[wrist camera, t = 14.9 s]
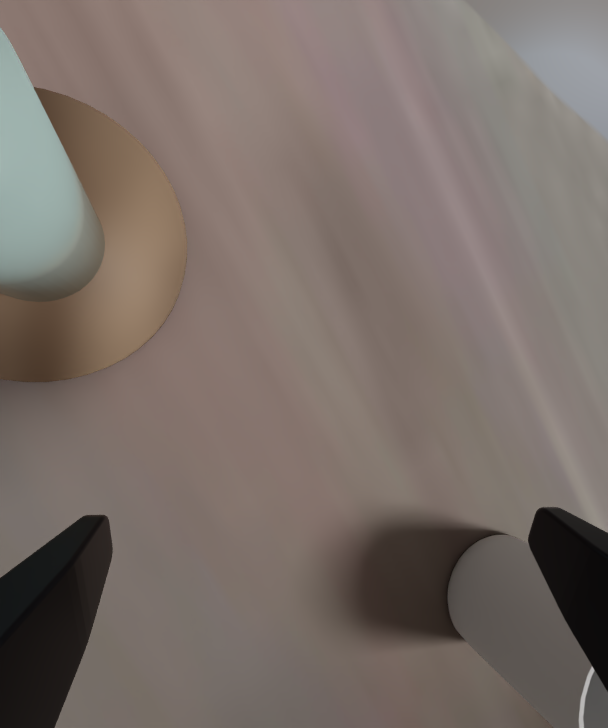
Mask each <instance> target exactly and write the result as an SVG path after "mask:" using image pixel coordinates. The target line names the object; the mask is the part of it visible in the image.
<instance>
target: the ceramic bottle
mask: <svg viewBox="0 0 608 728" xmlns="http://www.w3.org/2000/svg"><path fill="white" fill-rule="evenodd" d="M104 251H105V238H104V232H103V228H102V225H101V222H100V220H99V218H98V216H97V214H96V212H95V210H94V208H93V206H92V204H91V202H90V200H89V198H88V196H87V194H86V192H85V190H84V188H83V186H82V184H81V182H80V180H79V178H78V176H77V174H76V172H75V170H74V168H73V166H72V164H71V162H70V160H69V158H68V156H67V154H66V152H65V150H64V148H63V146H62V144H61V142H60V140H59V138H58V136H57V134H56V132H55V130H54V128H53V126H52V124H51V122H50V120H49V118H48V116H47V114H46V112H45V110H44V108H43V106H42V104H41V102H40V100H39V98H38V96H37V94H36V92H35V90H34V88H33V86H32V84H31V82H30V80H29V78H28V76H27V74H26V72H25V70H24V68H23V66H22V64H21V62H20V60H19V58H18V56H17V54H16V52H15V50H14V48H13V47H12V45H11V43H10V41H9V39H8V38H7V36H6V35H5V33H4V32H3V31H2V29H1V28H0V293H1V294H4V295H7V296H10V297H13V298H16V299H20V300H25V301H32V302H48V301H54V300H59V299H62V298H65V297H68V296H70V295H73V294H74V293H76V292H78V291H79V290H81V289H82V288H83V287H85V286H86V285H87V284H88V283H89V282H90V281H91V280H92V279H93V278H94V276H95V275H96V273H97V272H98V270H99V268H100V266H101V263H102V260H103V257H104Z"/></svg>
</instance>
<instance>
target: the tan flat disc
mask: <svg viewBox="0 0 608 728" xmlns="http://www.w3.org/2000/svg"><path fill="white" fill-rule="evenodd" d="M33 88H34V90H35V92H36V94H37V96H38V98H39V100H40V102H41V104H42V106H43V108H44V110H45V112H46V114H47V116H48V118H49V120H50V122H51V124H52V126H53V128H54V130H55V132H56V134H57V136H58V138H59V140H60V142H61V144H62V146H63V148H64V150H65V152H66V154H67V156H68V158H69V160H70V162H71V164H72V166H73V168H74V170H75V172H76V174H77V176H78V178H79V180H80V182H81V184H82V186H83V188H84V190H85V192H86V194H87V196H88V198H89V200H90V202H91V204H92V206H93V208H94V210H95V212H96V214H97V216H98V218H99V220H100V222H101V225H102V228H103V232H104V238H105V251H104V257H103V260H102V263H101V266H100V268H99V270H98V272H97V273H96V275H95V276H94V278H93V279H92V280H91V281H90V282H89V283H88V284H87V285H86V286H85V287H83V288H82V289H81V290H79V291H78V292H76V293H74V294H73V295H70V296H68V297H65V298H62V299H59V300H54V301H48V302H32V301H25V300H20V299H16V298H13V297H10V296H7V295H4V294H1V293H0V379H3V380H12V381H22V382H49V381H58V380H66V379H71V378H75V377H79V376H84V375H88V374H90V373H93V372H96V371H98V370H101V369H104V368H107V367H109V366H111V365H113V364H115V363H117V362H119V361H121V360H123V359H125V358H126V357H128V356H129V355H131V354H132V353H134V352H135V351H136V350H138V349H139V348H141V347H142V346H143V345H144V344H145V343H146V342H147V341H148V340H149V339H150V338H152V337H153V336H154V334H155V333H156V332H157V331H158V330H159V328H160V327H161V326H162V325H163V324H164V322H165V320H166V319H167V317H168V316H169V314H170V312H171V311H172V309H173V307H174V304H175V302H176V300H177V298H178V295H179V292H180V289H181V285H182V282H183V278H184V274H185V267H186V260H187V238H186V230H185V223H184V219H183V216H182V212H181V208H180V205H179V202H178V200H177V197H176V195H175V192H174V190H173V188H172V186H171V184H170V182H169V181H168V179H167V177H166V175H165V173H164V172H163V170H162V169H161V167H160V166H159V165H158V163H157V162H156V160H155V159H154V158H153V156H152V155H151V154H150V153H149V152H148V151H147V150H146V148H145V147H144V146H143V145H142V144H141V143H140V142H139V141H138V140H137V139H136V138H135V137H134V136H133V135H131V134H130V133H129V132H128V131H127V130H126V129H125V128H123V127H122V126H121V125H119V124H118V123H116V122H115V121H114V120H112V119H111V118H109V117H108V116H107V115H105V114H103V113H101V112H100V111H98V110H96V109H94V108H92V107H91V106H89V105H87V104H85V103H82V102H80V101H78V100H75V99H73V98H71V97H68V96H65V95H62V94H59V93H56V92H52V91H49V90H46V89H40V88H35V87H33Z"/></svg>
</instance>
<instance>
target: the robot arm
mask: <svg viewBox="0 0 608 728" xmlns="http://www.w3.org/2000/svg"><path fill="white" fill-rule="evenodd" d="M528 542H529V547H530V550H531V552H532V554H533V556H534V558H535V560H536V562H537V564H538V566H539V568H540V570H541V573H542V575H543V577H544V579H545V581H546V583H547V585H548V587H549V589H550V591H551V593H552V595H553V597H554V599H555V601H556V603H557V606H558V608H559V609H560V611H561V613H562V615H563V617H564V619H565V621H566V623H567V624H568V626H569V628H570V630H571V632H572V633H573V635H574V637H575V638H576V640H577V642H578V643H579V645H580V647H581V648H582V650H583V652H584V653H585V655H586V657H587V658H588V660H589V662H590V663H591V665H592V667H593V669H594V670H595V672H596V674H597V675H598V677H599V679H600V680H601V682H602V684H603V685H604V687H605V689H606V690H607V692H608V533H607V532H605V531H603V530H601V529H599V528H597V527H595V526H593V525H592V524H590V523H588V522H586V521H584V520H582V519H580V518H578V517H576V516H574V515H572V514H571V513H569V512H567V511H565V510H563V509H561V508H558V507H542V508H539V509H538V510H537V511H536V514H535V517H534V520H533V523H532V527H531V530H530V533H529V537H528ZM112 550H113V548H112V540H111V532H110V525H109V519H108V517H107V516H105V515H86V516H83V517H82V518H80V519H79V520H77V521H76V522H75V523H73V524H72V525H71V526H69V527H68V528H67V529H65V530H64V531H63V532H61V533H60V534H59V535H57V536H56V537H55V538H53V539H52V540H51V541H49V542H48V543H47V544H45V545H44V546H43V547H41V548H40V549H38V550H37V551H36V552H34V553H33V554H32V555H30V556H29V557H28V558H26V559H25V560H24V561H22V562H21V563H20V564H18V565H17V566H16V567H14V568H13V569H12V570H10V571H9V572H8V573H6V574H5V575H4V576H2V577H1V578H0V728H54V727H55V725H56V722H57V720H58V717H59V715H60V712H61V710H62V707H63V705H64V702H65V700H66V697H67V695H68V692H69V690H70V687H71V684H72V682H73V679H74V677H75V674H76V672H77V669H78V667H79V664H80V662H81V659H82V657H83V654H84V651H85V649H86V646H87V643H88V640H89V637H90V633H91V630H92V627H93V623H94V620H95V616H96V613H97V609H98V606H99V602H100V598H101V595H102V591H103V588H104V584H105V581H106V577H107V574H108V570H109V567H110V563H111V559H112Z"/></svg>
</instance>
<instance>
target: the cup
mask: <svg viewBox="0 0 608 728" xmlns="http://www.w3.org/2000/svg"><path fill="white" fill-rule="evenodd" d="M447 599H448V607H449V613H450V617H451V620H452V622H453V625H454V627H455V629H456V630H457V631H458V632H459V633H460V635H461V636H462V637H463V638H464V639H465V640H466V642H467V643H468V644H469V645H470V646H471V647H472V648H473V649H474V650H475V651H476V652H477V653H478V654H479V655H480V656H481V657H482V658H483V659H484V660H485V661H486V662H487V663H488V664H489V665H490V666H492V667H493V668H494V669H495V670H496V671H497V672H498V673H499V674H500V675H501V676H502V677H503V678H504V679H505V680H506V681H507V682H508V683H509V684H510V685H511V686H512V687H513V688H514V689H515V690H516V691H517V692H518V693H519V694H520V695H521V696H522V697H523V698H524V699H525V700H526V701H527V702H528V703H529V704H530V705H531V706H532V707H534V708H535V709H536V710H537V711H538V712H539V713H540V714H541V715H542V716H543V717H544V718H545V719H546V720H547V721H548V722H549V723H550V724H551V725H552V726H553V727H554V728H608V692H607V690H606V689H605V687H604V685H603V684H602V682H601V680H600V679H599V677H598V675H597V674H596V672H595V670H594V669H593V667H592V665H591V663H590V662H589V660H588V658H587V657H586V655H585V653H584V652H583V650H582V648H581V647H580V645H579V643H578V642H577V640H576V638H575V637H574V635H573V633H572V632H571V630H570V628H569V626H568V624H567V623H566V621H565V619H564V617H563V615H562V613H561V611H560V609H559V608H558V606H557V603H556V601H555V599H554V597H553V595H552V593H551V591H550V589H549V587H548V585H547V583H546V581H545V579H544V577H543V575H542V573H541V570H540V568H539V566H538V564H537V562H536V560H535V558H534V556H533V554H532V552H531V550H530V547H529V543H527V542H525V541H523V540H521V539H518V538H516V537H513V536H509V535H493V536H489V537H486V538H484V539H481V540H479V541H477V542H476V543H474V544H473V545H472V546H470V547H469V548H468V549H467V550H466V551H465V552H464V554H463V555H462V556H461V557H460V558H459V560H458V562H457V564H456V566H455V567H454V569H453V571H452V575H451V578H450V581H449V585H448V595H447Z"/></svg>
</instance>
